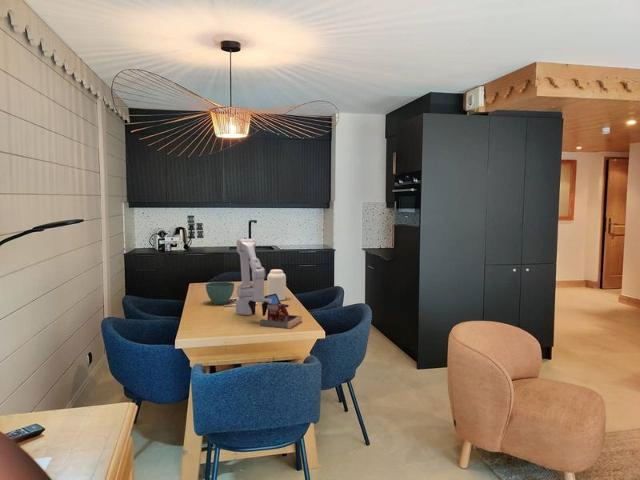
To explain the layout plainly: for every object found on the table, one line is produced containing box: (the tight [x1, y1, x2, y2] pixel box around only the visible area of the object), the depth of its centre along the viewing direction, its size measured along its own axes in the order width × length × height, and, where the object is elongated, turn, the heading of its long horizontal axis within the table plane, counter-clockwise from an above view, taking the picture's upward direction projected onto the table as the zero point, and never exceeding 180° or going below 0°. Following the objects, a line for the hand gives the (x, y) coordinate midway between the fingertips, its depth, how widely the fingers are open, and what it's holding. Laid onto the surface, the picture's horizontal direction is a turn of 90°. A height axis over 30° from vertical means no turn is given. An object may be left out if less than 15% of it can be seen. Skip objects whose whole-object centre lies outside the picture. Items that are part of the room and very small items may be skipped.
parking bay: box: [259, 314, 303, 329], centre depth 259 cm, size 18×16×3 cm
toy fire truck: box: [266, 303, 290, 322], centre depth 259 cm, size 7×12×10 cm, turn 71°
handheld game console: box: [264, 294, 289, 308], centre depth 299 cm, size 12×11×7 cm
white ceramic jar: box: [266, 268, 287, 302], centre depth 323 cm, size 12×12×20 cm
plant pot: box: [205, 281, 235, 305], centre depth 310 cm, size 18×18×12 cm
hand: (258, 315), depth 263 cm, fingers open, 6 cm apart
